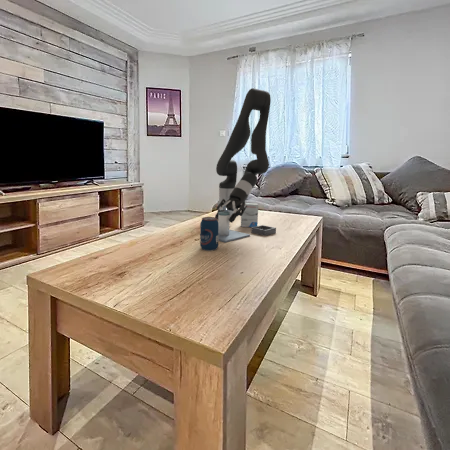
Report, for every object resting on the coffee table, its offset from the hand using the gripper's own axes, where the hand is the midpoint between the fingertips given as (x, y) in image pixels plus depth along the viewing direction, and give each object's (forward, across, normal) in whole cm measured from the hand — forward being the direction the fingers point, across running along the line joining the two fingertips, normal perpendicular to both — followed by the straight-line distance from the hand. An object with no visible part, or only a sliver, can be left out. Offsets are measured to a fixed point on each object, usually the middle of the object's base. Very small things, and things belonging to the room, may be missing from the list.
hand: (223, 220), depth 139 cm
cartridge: (+4, 0, +5) cm, 7 cm away
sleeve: (-8, +8, +19) cm, 22 cm away
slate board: (+4, 0, +6) cm, 8 cm away
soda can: (+18, +10, -7) cm, 22 cm away
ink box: (-12, -6, +23) cm, 27 cm away
